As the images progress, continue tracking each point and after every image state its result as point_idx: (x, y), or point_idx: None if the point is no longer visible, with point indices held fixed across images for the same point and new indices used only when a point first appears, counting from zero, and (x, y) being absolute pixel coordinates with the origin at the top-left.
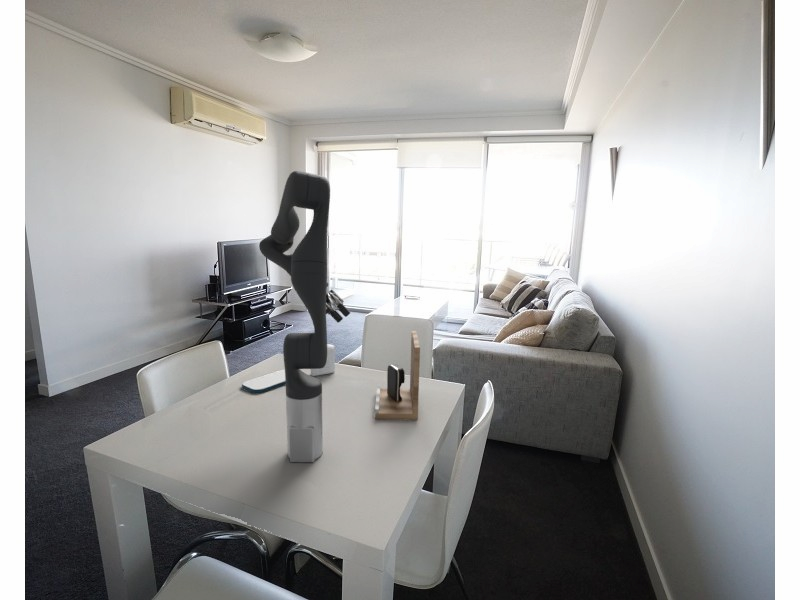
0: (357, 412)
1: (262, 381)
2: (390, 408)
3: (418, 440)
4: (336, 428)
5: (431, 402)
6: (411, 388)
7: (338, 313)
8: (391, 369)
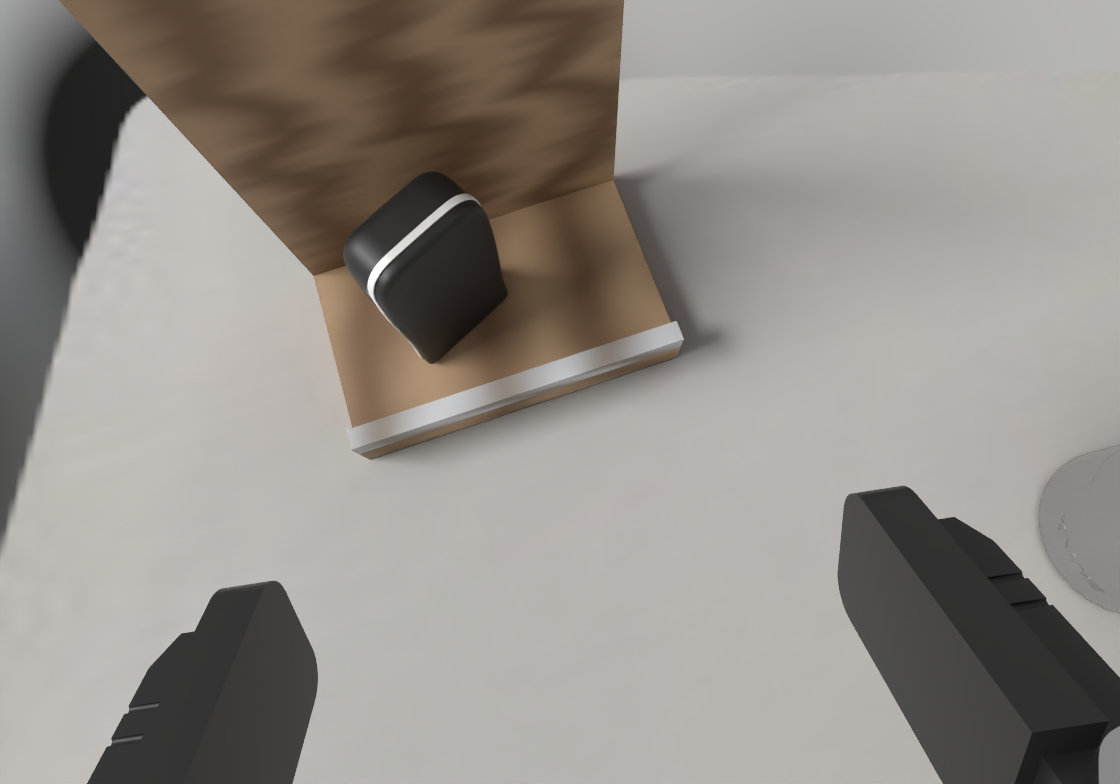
0: (638, 470)
1: None
2: (596, 293)
3: (782, 127)
4: None
5: None
6: None
7: (974, 593)
8: (434, 253)
